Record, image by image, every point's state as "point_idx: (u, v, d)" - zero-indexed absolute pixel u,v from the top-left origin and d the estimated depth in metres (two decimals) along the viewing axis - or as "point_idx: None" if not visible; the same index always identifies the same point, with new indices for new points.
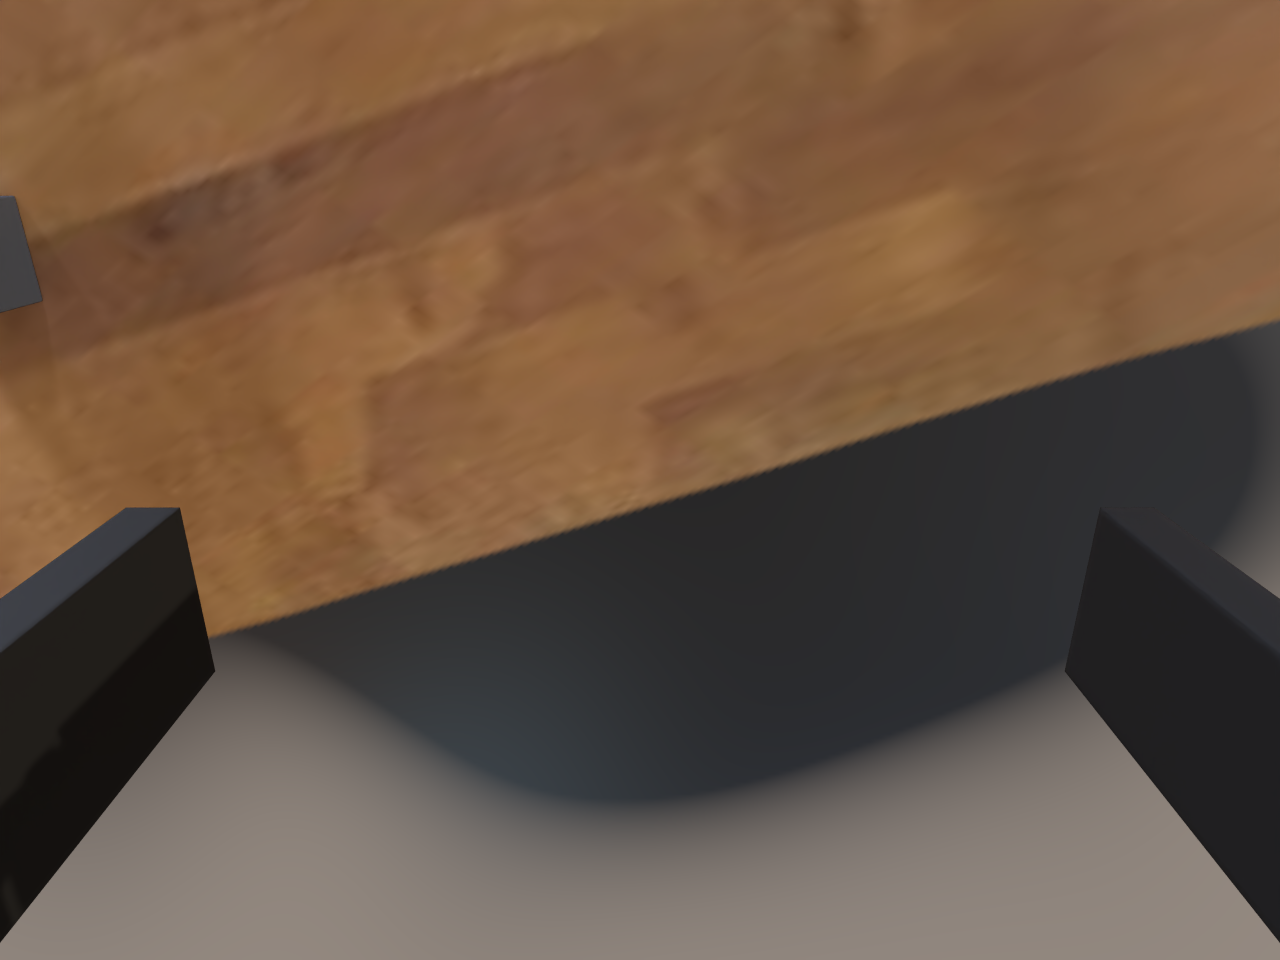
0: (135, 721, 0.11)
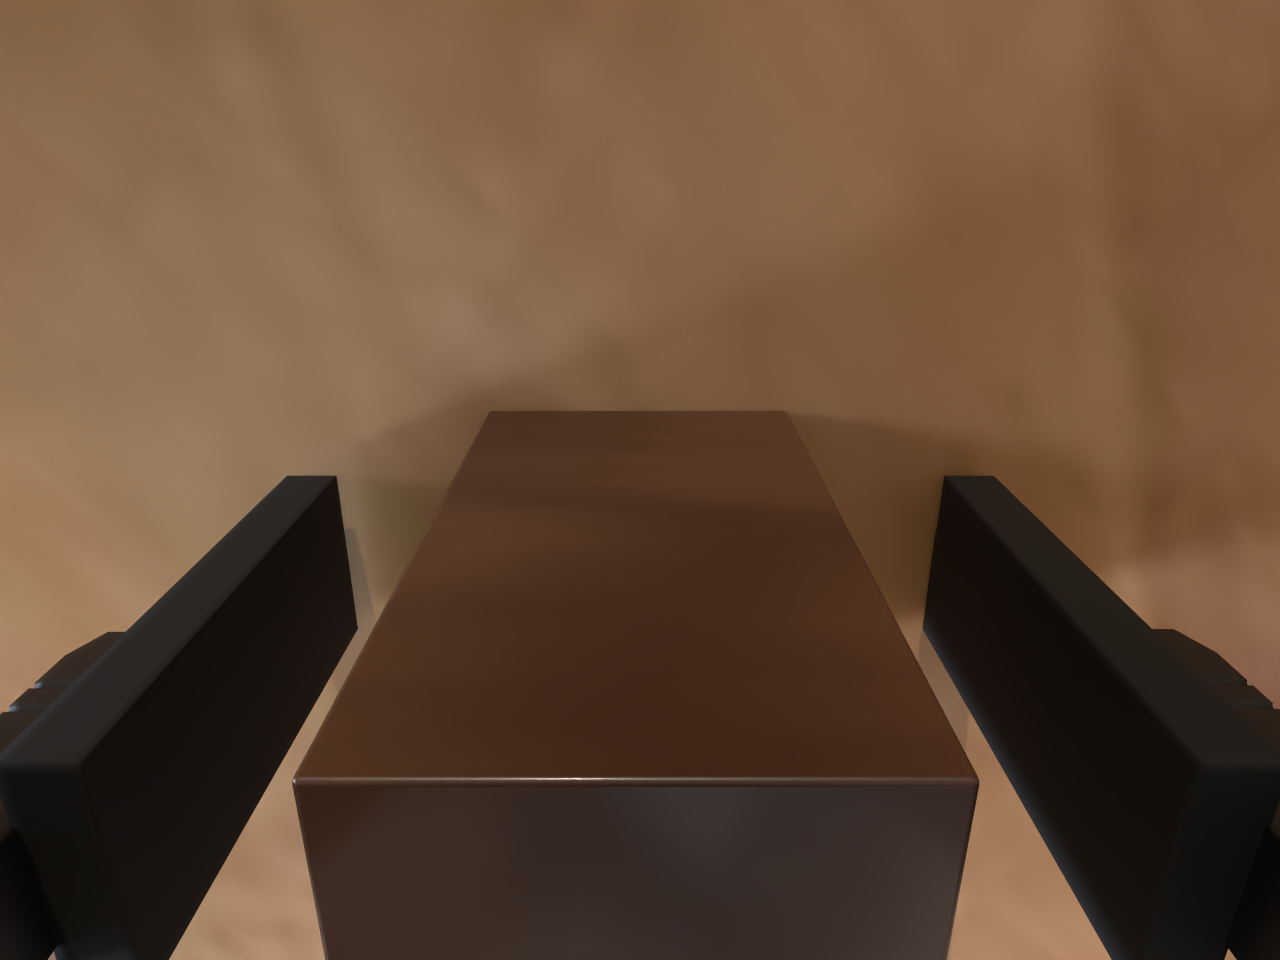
0: (309, 667, 0.12)
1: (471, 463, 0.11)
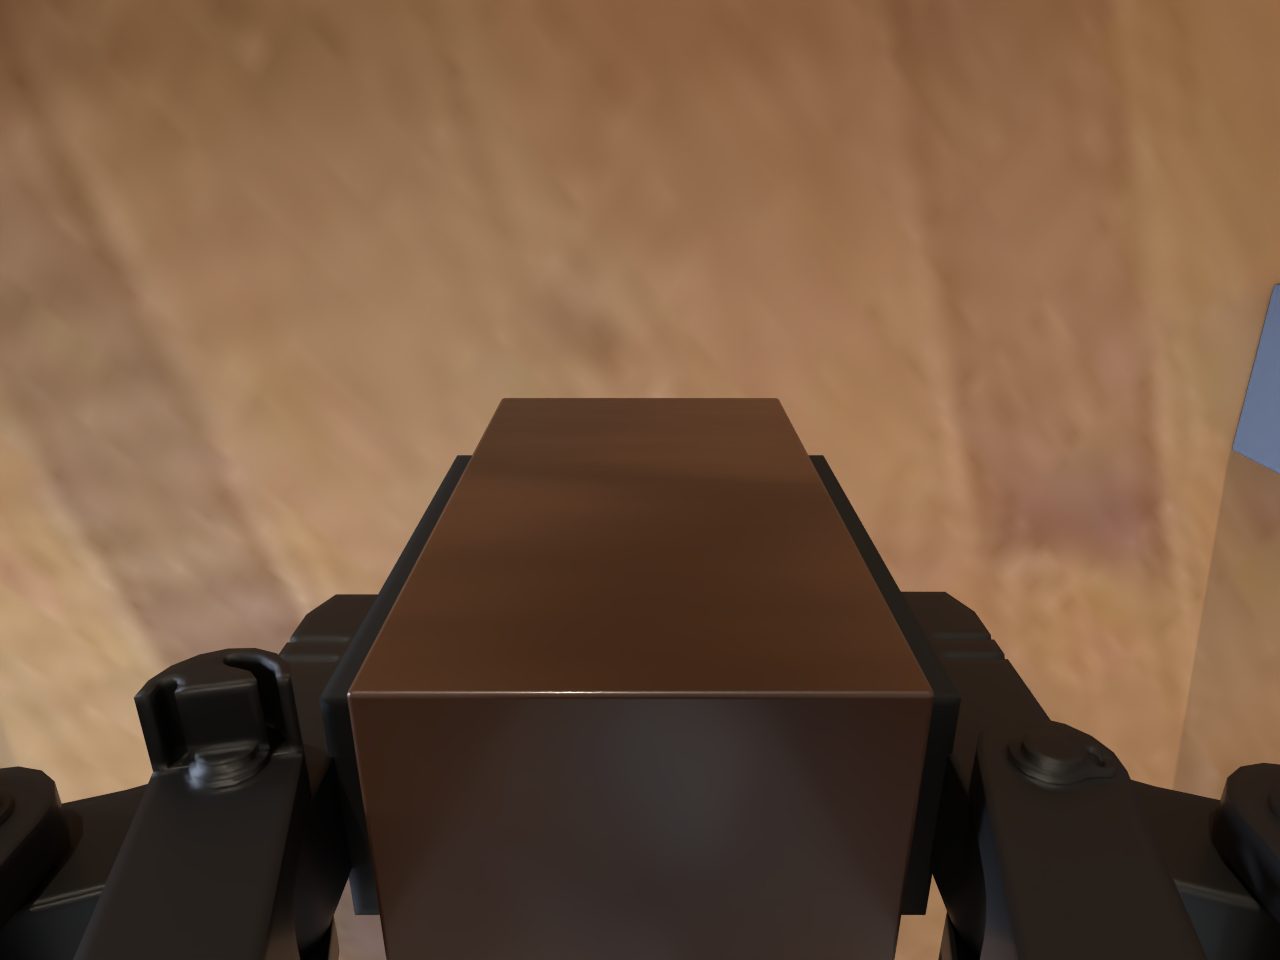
0: None
1: (487, 442, 0.12)
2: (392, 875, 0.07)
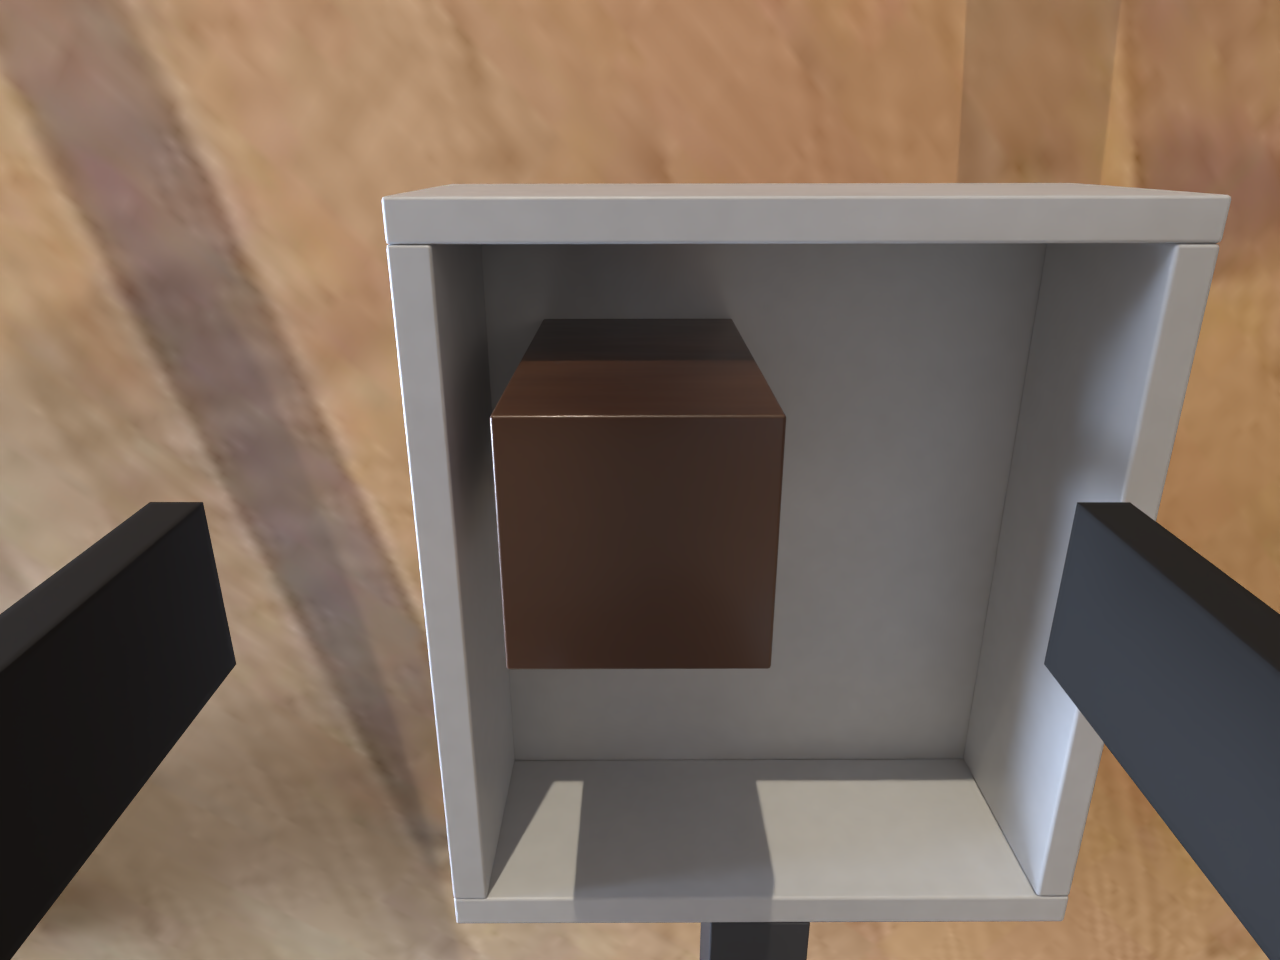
0: (161, 712, 0.11)
1: (539, 337, 0.18)
2: (507, 526, 0.14)
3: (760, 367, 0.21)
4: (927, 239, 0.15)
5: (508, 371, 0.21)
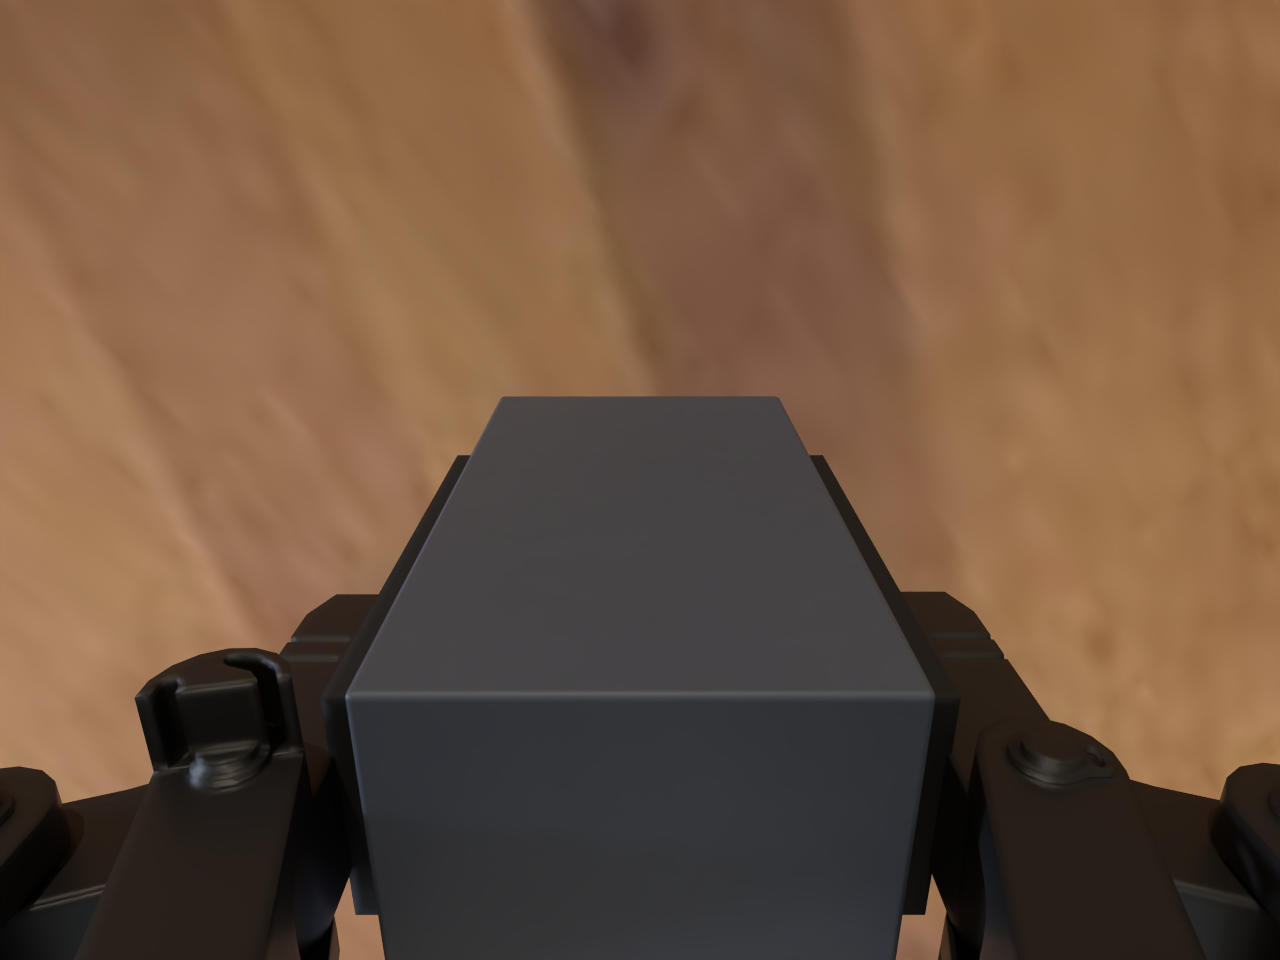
0: None
1: None
2: None
3: None
4: None
5: None
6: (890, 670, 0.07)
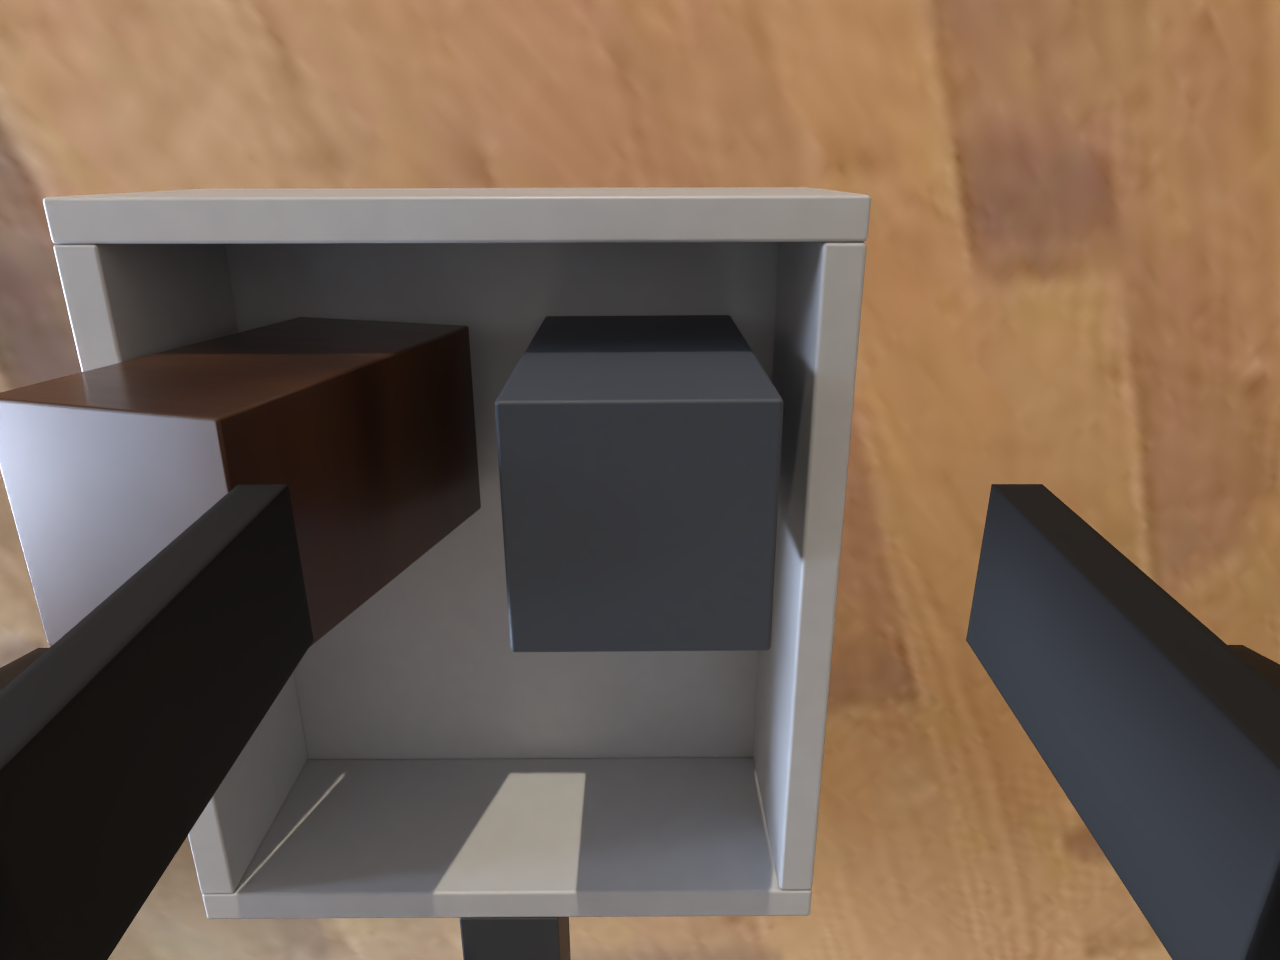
0: (256, 681, 0.12)
1: (240, 333, 0.19)
2: (16, 505, 0.14)
3: (512, 368, 0.21)
4: (580, 237, 0.15)
5: None
6: (763, 394, 0.14)
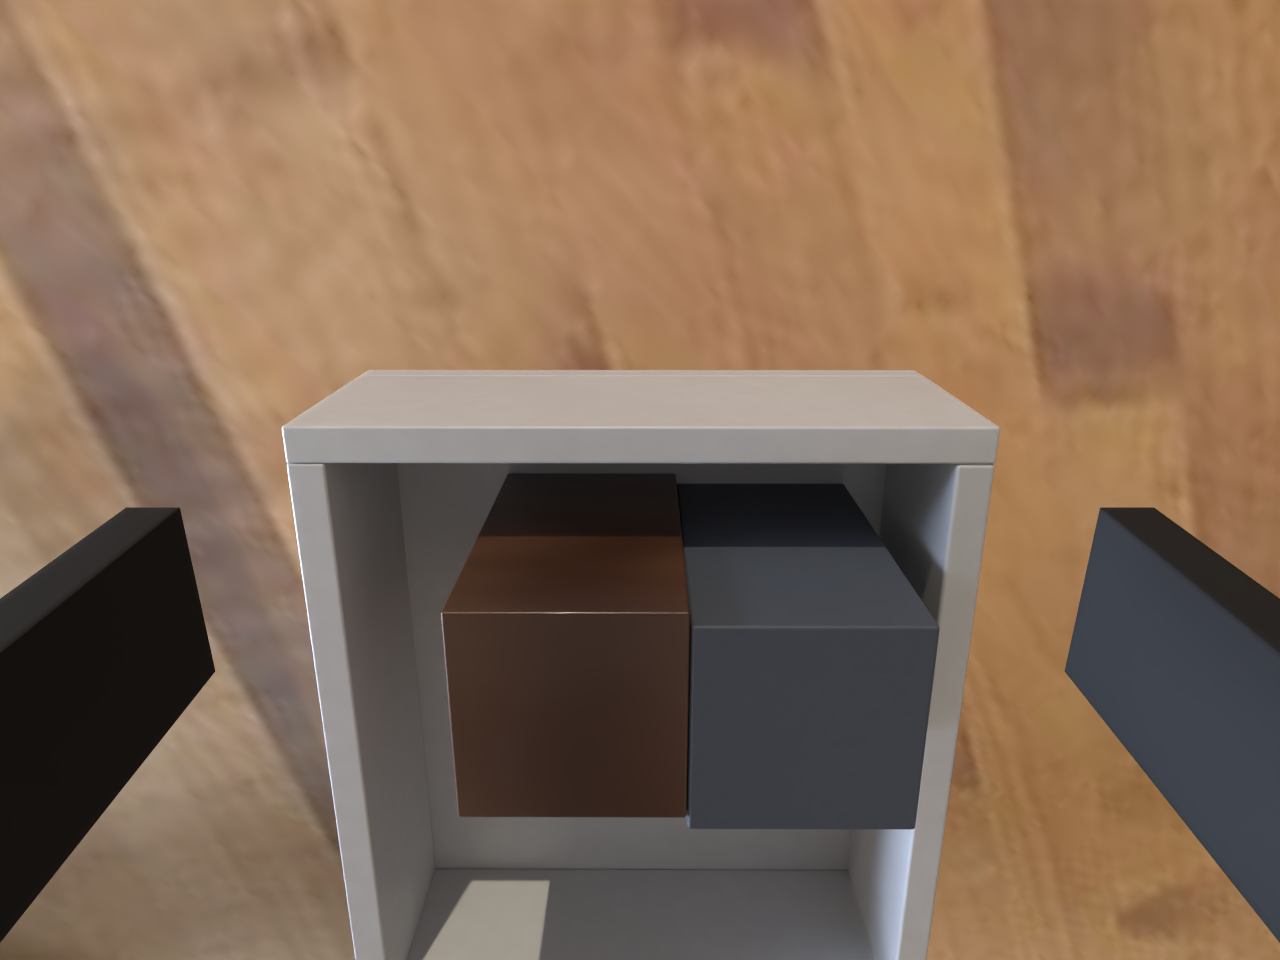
0: (134, 721, 0.11)
1: (499, 501, 0.21)
2: (456, 700, 0.16)
3: None
4: (744, 460, 0.18)
5: (420, 529, 0.24)
6: (919, 618, 0.16)
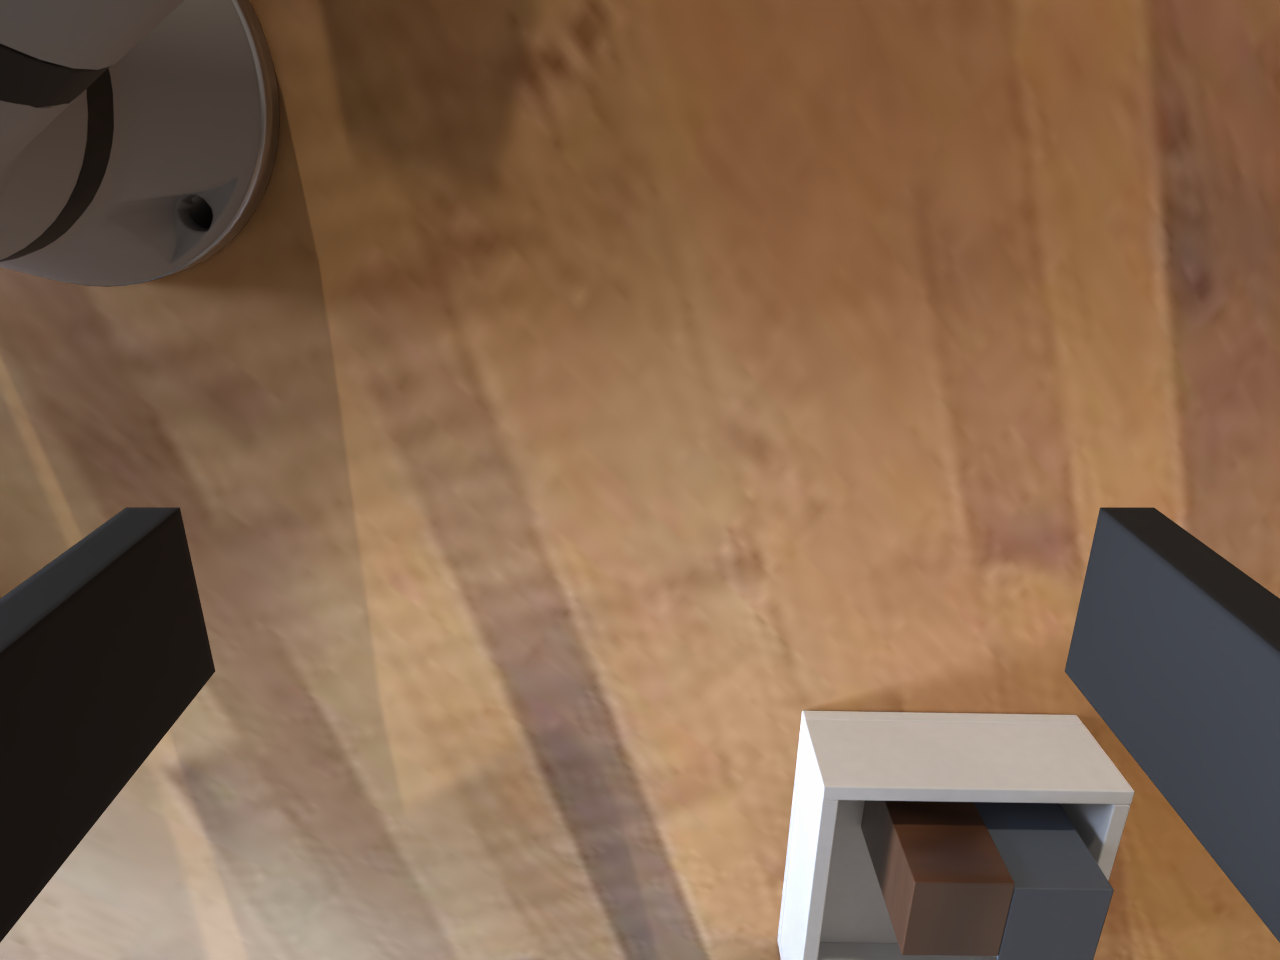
0: (135, 721, 0.11)
1: None
2: (913, 912, 0.39)
3: None
4: (1022, 801, 0.41)
5: None
6: (1104, 883, 0.39)
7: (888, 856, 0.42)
